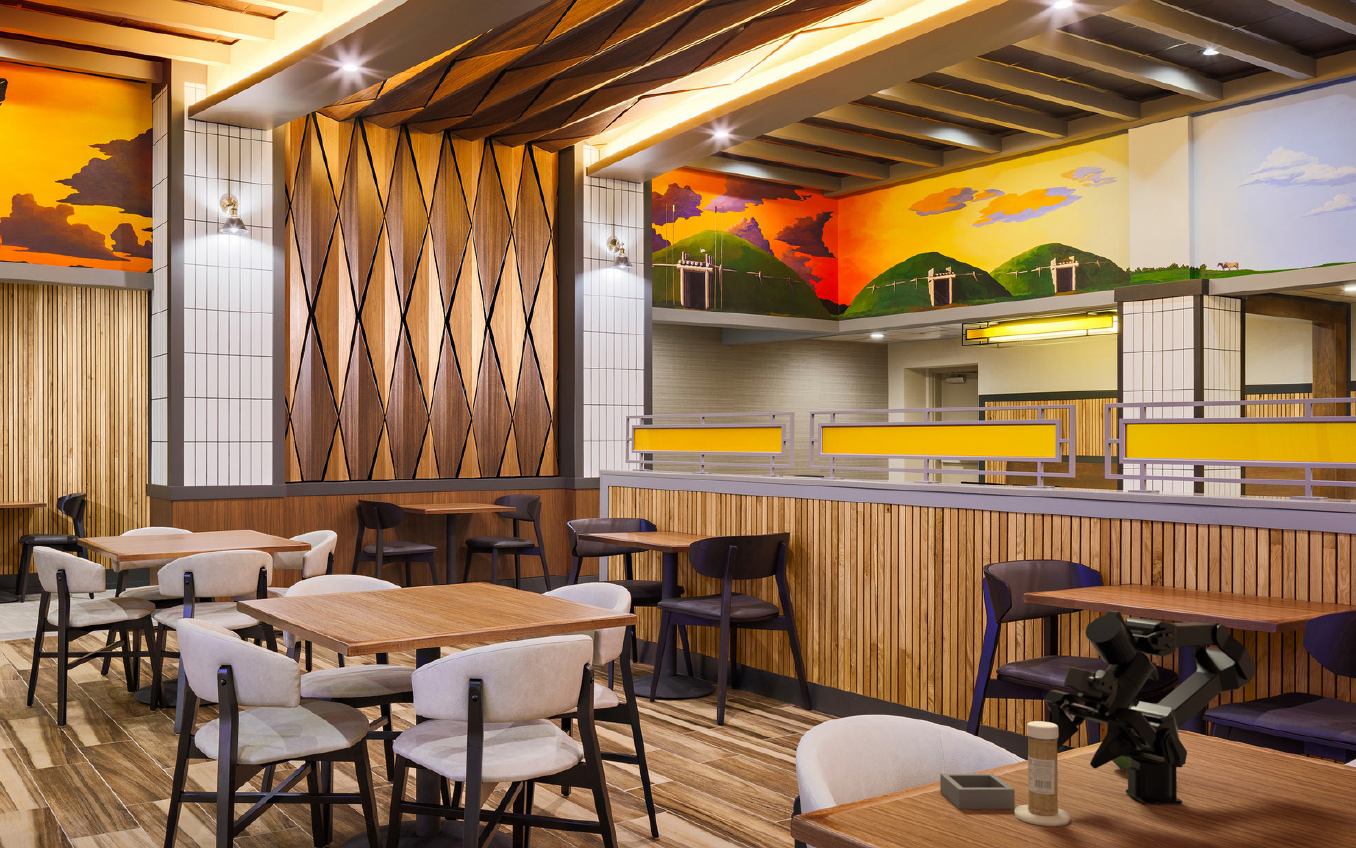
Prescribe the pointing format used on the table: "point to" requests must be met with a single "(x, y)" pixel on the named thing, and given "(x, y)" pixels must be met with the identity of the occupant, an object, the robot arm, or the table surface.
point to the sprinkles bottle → (1042, 768)
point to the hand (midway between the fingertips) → (1069, 759)
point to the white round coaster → (1041, 817)
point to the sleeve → (977, 791)
